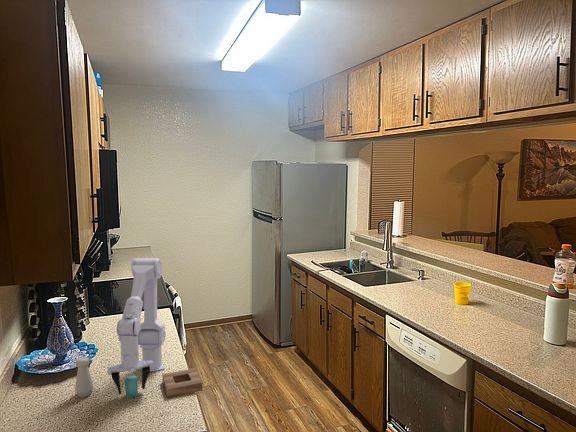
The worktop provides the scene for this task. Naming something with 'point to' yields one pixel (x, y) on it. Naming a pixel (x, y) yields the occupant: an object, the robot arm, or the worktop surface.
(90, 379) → the salt shaker
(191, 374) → the socket block
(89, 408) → the worktop surface
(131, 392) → the teal pin
